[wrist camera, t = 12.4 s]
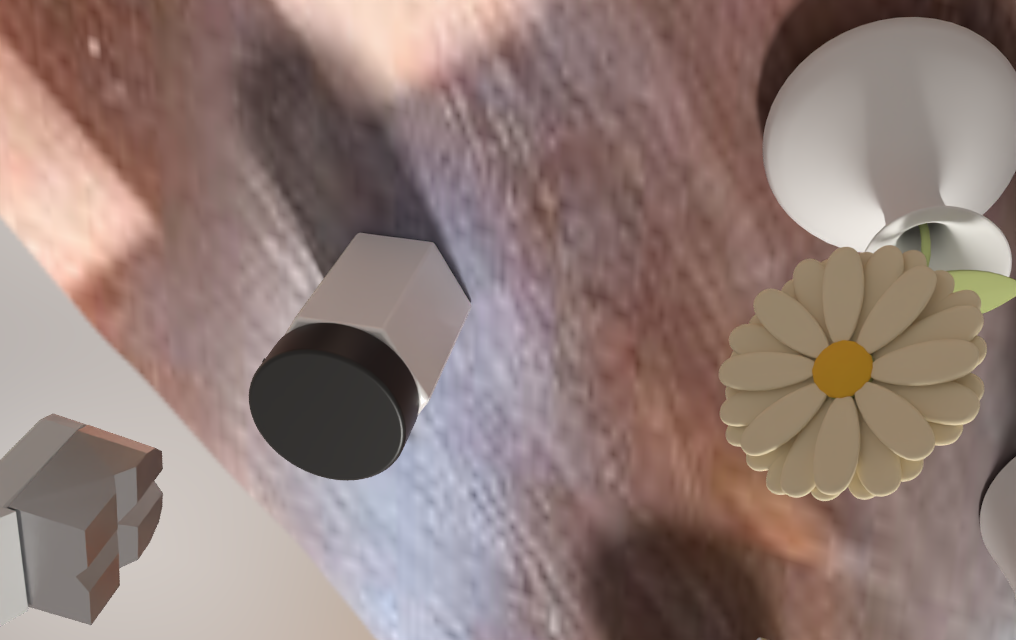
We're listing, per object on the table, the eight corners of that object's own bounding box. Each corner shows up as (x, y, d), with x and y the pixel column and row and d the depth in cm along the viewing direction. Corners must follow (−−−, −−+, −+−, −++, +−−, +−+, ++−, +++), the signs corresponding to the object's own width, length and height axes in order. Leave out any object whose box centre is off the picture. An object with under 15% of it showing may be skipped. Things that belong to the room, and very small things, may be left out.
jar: (303, 254, 56) (209, 372, 46) (417, 206, 53) (341, 322, 43) (382, 371, 59) (310, 503, 50) (492, 333, 56) (439, 467, 46)
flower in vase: (1016, -22, 40) (1297, 258, 20) (1021, 215, 46) (1247, 627, 25) (709, 46, 45) (680, 335, 24) (747, 256, 50) (749, 638, 29)
